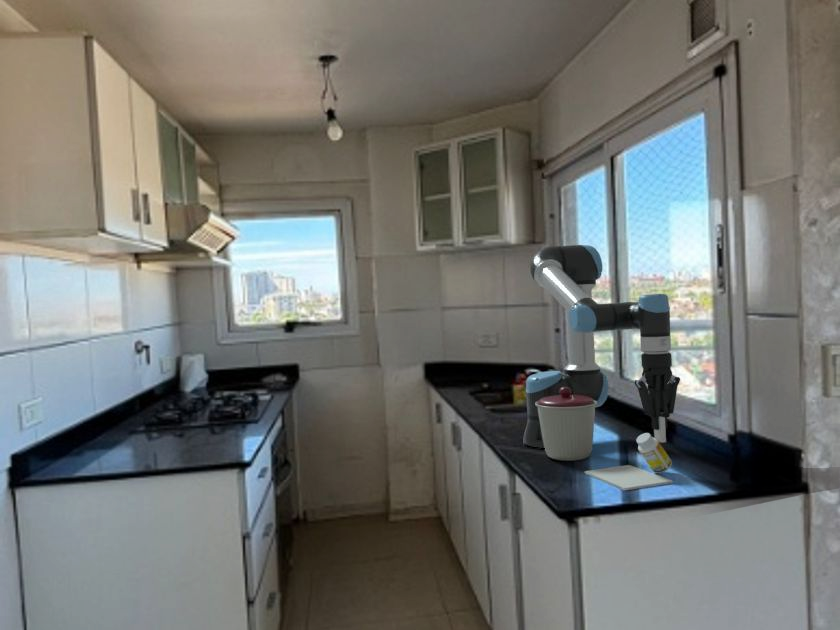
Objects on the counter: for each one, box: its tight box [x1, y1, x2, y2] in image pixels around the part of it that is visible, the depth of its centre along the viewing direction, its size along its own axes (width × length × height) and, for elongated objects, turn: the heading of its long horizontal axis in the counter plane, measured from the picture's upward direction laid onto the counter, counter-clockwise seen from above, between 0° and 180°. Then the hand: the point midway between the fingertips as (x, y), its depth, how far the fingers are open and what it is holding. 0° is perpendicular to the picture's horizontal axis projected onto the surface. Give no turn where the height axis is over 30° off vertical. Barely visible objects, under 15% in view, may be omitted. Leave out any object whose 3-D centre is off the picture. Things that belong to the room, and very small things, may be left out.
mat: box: [584, 464, 674, 492], centre depth 168 cm, size 18×14×1 cm
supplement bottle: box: [636, 432, 673, 474], centre depth 170 cm, size 6×6×10 cm
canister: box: [535, 387, 597, 462], centre depth 193 cm, size 18×18×21 cm
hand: (660, 441), depth 171 cm, fingers closed
